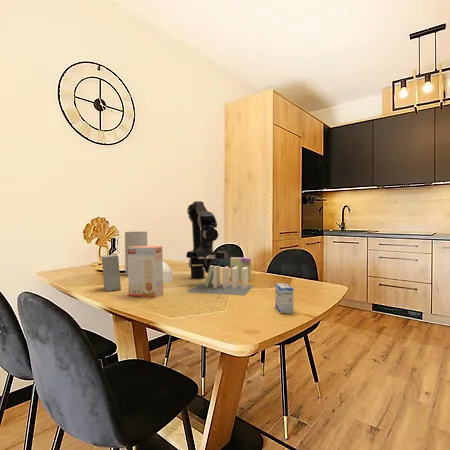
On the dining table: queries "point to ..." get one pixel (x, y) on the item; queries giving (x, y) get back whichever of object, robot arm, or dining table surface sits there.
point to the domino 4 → (235, 278)
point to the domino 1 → (209, 277)
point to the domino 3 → (225, 276)
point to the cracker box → (145, 271)
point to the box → (240, 266)
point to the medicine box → (284, 298)
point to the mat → (220, 289)
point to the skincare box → (111, 272)
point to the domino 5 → (244, 277)
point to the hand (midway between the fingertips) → (207, 272)
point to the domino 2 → (216, 276)
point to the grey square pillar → (133, 243)
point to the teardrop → (166, 273)
